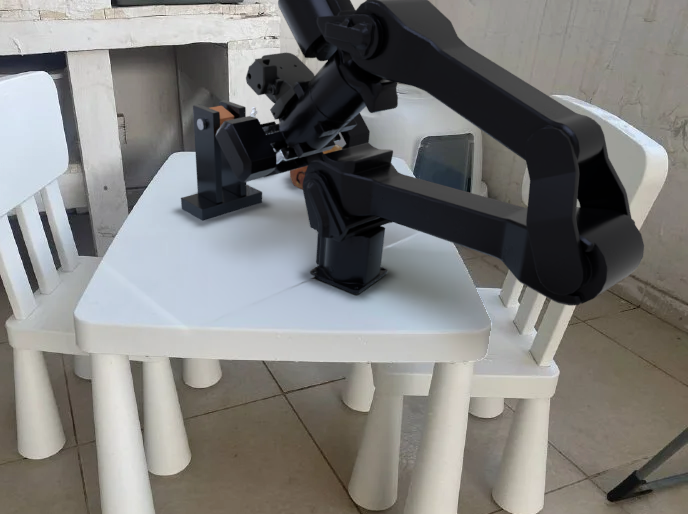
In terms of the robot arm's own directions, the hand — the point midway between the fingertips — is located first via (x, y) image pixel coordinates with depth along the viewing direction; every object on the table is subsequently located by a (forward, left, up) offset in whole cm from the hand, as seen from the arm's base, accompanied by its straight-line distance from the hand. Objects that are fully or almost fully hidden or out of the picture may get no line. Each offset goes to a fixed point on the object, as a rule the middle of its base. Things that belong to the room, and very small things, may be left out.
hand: (263, 173), depth 74 cm
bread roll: (+4, -18, -8) cm, 20 cm away
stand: (+9, -2, -8) cm, 12 cm away
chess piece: (+15, -15, -8) cm, 23 cm away
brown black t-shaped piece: (+6, -1, +2) cm, 7 cm away
